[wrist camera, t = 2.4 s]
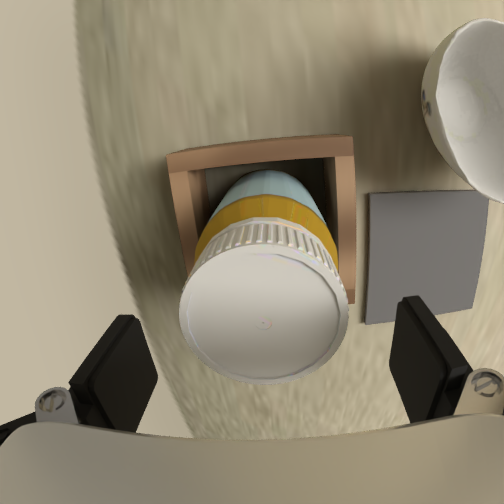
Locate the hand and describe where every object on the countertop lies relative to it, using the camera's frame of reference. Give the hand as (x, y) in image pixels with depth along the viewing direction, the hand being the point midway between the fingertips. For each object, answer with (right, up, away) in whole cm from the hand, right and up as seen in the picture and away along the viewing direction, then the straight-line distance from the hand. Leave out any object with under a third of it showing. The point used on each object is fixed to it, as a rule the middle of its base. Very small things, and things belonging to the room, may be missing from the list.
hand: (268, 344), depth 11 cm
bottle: (+1, +6, +14) cm, 16 cm away
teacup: (+17, +15, +10) cm, 25 cm away
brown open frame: (+1, +6, +14) cm, 16 cm away
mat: (+15, +3, +15) cm, 21 cm away
